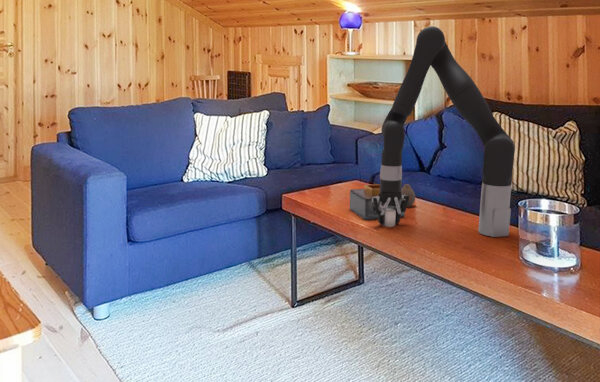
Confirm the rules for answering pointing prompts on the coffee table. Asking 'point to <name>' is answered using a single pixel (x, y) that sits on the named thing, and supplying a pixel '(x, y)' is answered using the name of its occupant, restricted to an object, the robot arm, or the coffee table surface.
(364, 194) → the grey box with opening
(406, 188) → the vase
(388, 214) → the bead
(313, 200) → the coffee table surface
